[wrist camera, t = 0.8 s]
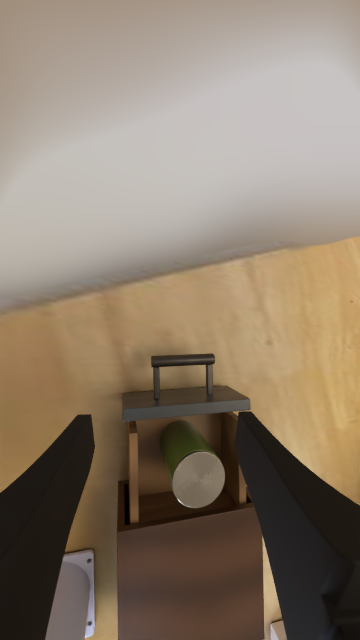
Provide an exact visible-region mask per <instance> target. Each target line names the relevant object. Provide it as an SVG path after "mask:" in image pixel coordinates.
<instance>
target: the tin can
mask: <svg viewBox="0 0 360 640" xmlns="http://www.w3.org/2000/svg"><path fill="white" fill-rule="evenodd" d="M159 447H160V451H161V455H162V458H163V461H164V465H165V468H166V471H167V474H168V478H169V481H170V484H171V487H172V490H173V493H174V495H175V496H176V498H177V499H178V501H179V502H180V503H182V504H183V505H185V506H187V507H191V508H200V507H204V506H207V505H208V504H210V503H212V502H213V501H214V500H215V499H216V498H217V497H218V496H219V494H220V493H221V491H222V488H223V486H224V482H225V471H224V468H223V465H222V463H221V461H220V459H219V458H218V456H217V455H216V454H215V452H214V451H213V450H212V448H211V447H210V445H209V444H208V443H207V441H206V440H205V439H204V437H203V436H202V434H201V433H200V432H199V430H198V429H197V428H196V426H195V425H193V424H192V423H190V422H188V421H185V420H178V421H174V422H172V423H170V424H169V425H168V426H167V427H166V428H165V429H164V430H163V432H162V434H161V436H160V441H159Z"/></svg>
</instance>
